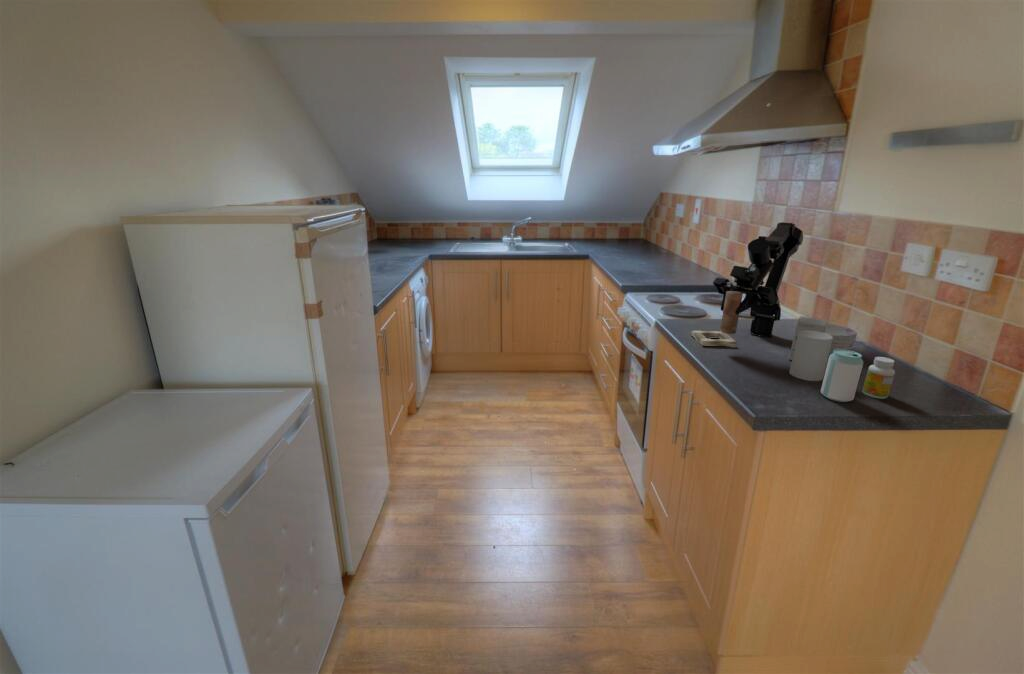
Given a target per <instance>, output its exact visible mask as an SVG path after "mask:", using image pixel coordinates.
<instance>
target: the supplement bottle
mask: <svg viewBox="0 0 1024 674" xmlns="http://www.w3.org/2000/svg"><path fill="white" fill-rule="evenodd" d="M894 366H895V360H894V359H892V358H889V357H884V356H875V357H874V360H873V364H871V365H869V367H868V369H867V373H866V376H865V380H864V383H863V387H862V393H863V394H864V395H865V396H867V397H871V398H875V399H881V400H884V399H887V398H888V397H889V395H890V391H891V387H892V384H893V381H894V378H895V374H896V371H895V369H894Z"/></svg>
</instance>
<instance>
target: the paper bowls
mask: <svg viewBox="0 0 1024 674" xmlns="http://www.w3.org/2000/svg"><path fill="white" fill-rule="evenodd" d="M825 333H826V334H829V335H831V336H832V337H833V339H832V343H831V348H830V352H829V356H830V355H831V354H832V353H834V350H836V349H844V350H852V349H854V347H855V343H856V339H857V336H858V333H857V331H856V330H854V329H852V328H850V327H847V326H843V325H837V324H832V323H827V325H826V329H825ZM829 356H828V357H829Z"/></svg>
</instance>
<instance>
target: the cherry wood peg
mask: <svg viewBox="0 0 1024 674" xmlns="http://www.w3.org/2000/svg"><path fill="white" fill-rule="evenodd" d="M742 299H743V293H741V292H737V291H727V292H726V297H725V303H724V309H723V311H722V315H721V316H722V317H721V322H720V328H719V331H721V332H723V333H726V334H727V335H735V334H736V333H737V327H738V321H739V317H740V313H739V314H738V315H736V314H735V311H736V310H737V308H738V307H739V305H740V304H741V302H742V301H743V300H742Z"/></svg>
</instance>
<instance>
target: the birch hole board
mask: <svg viewBox="0 0 1024 674" xmlns="http://www.w3.org/2000/svg"><path fill="white" fill-rule="evenodd" d="M691 335H692V336H693V337H694V338H695V339H696V340H697V341H698V342H699V343H700V344H701V345H702V346H701V345H700V344H699V343H698V342H697V341H696V340H695V341H696V342H697V343H698V344H699V345H700V346H701V347H703V346H728V347H727V348H737V341H736V340H735V339H734V338H733V337H731V336H730V334H727V333H723V332H721V331H720V330H719V331H718V330H691V331H690V336H691ZM706 337H719V338H720V339H711V338H706ZM729 346H730V347H729Z"/></svg>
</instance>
